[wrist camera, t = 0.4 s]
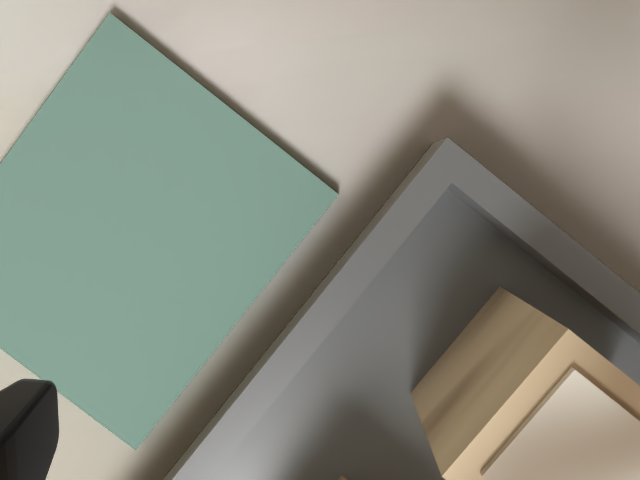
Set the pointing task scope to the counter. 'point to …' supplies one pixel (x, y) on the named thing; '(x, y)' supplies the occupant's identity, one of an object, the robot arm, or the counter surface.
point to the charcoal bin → (405, 330)
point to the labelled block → (528, 402)
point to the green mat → (139, 230)
